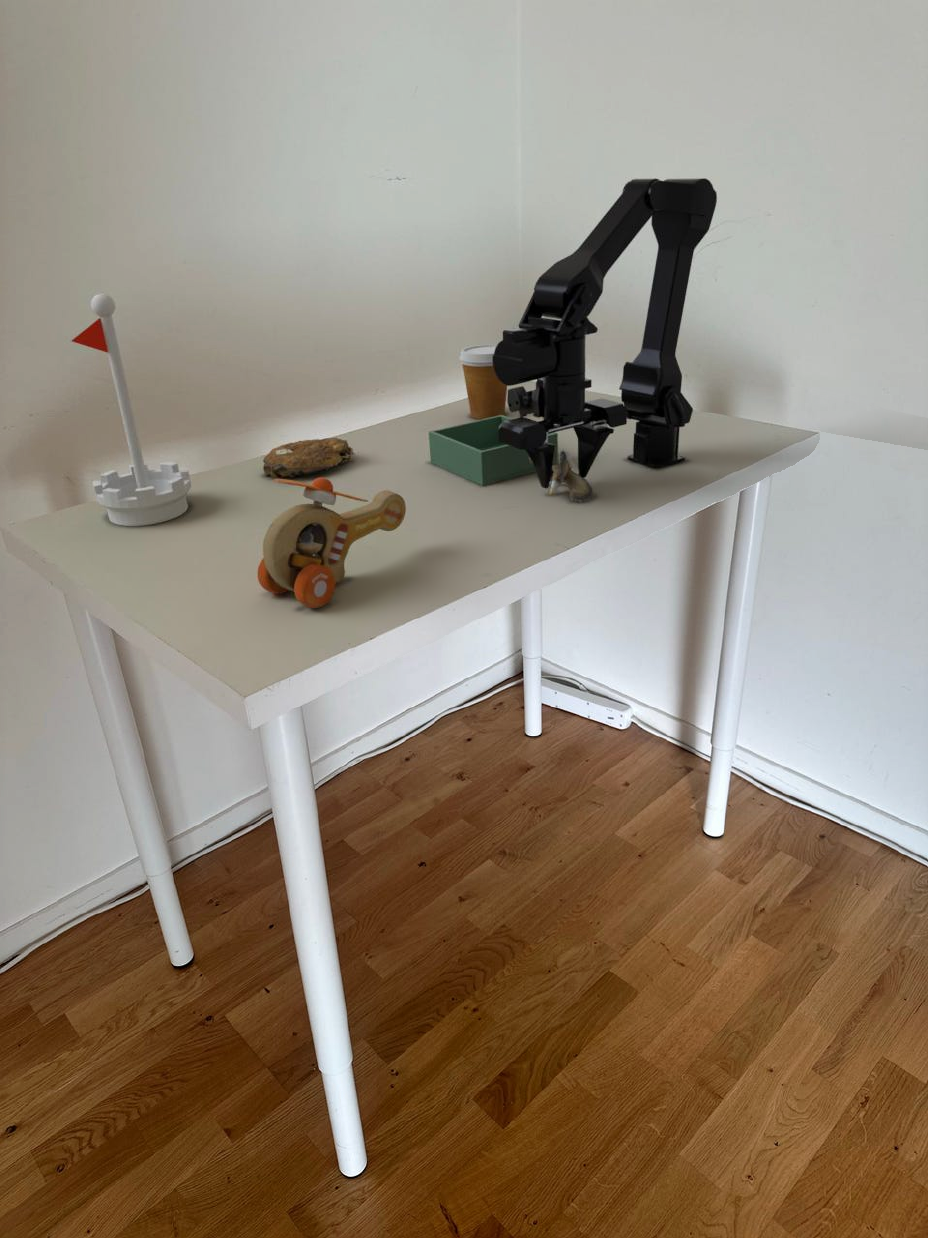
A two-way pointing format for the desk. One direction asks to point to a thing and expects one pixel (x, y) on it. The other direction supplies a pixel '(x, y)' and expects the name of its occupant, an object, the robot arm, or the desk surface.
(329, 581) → the toy helicopter
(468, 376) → the disposable coffee cup
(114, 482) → the flag stand
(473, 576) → the desk surface
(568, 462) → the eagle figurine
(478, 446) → the bin
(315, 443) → the decorative rock
